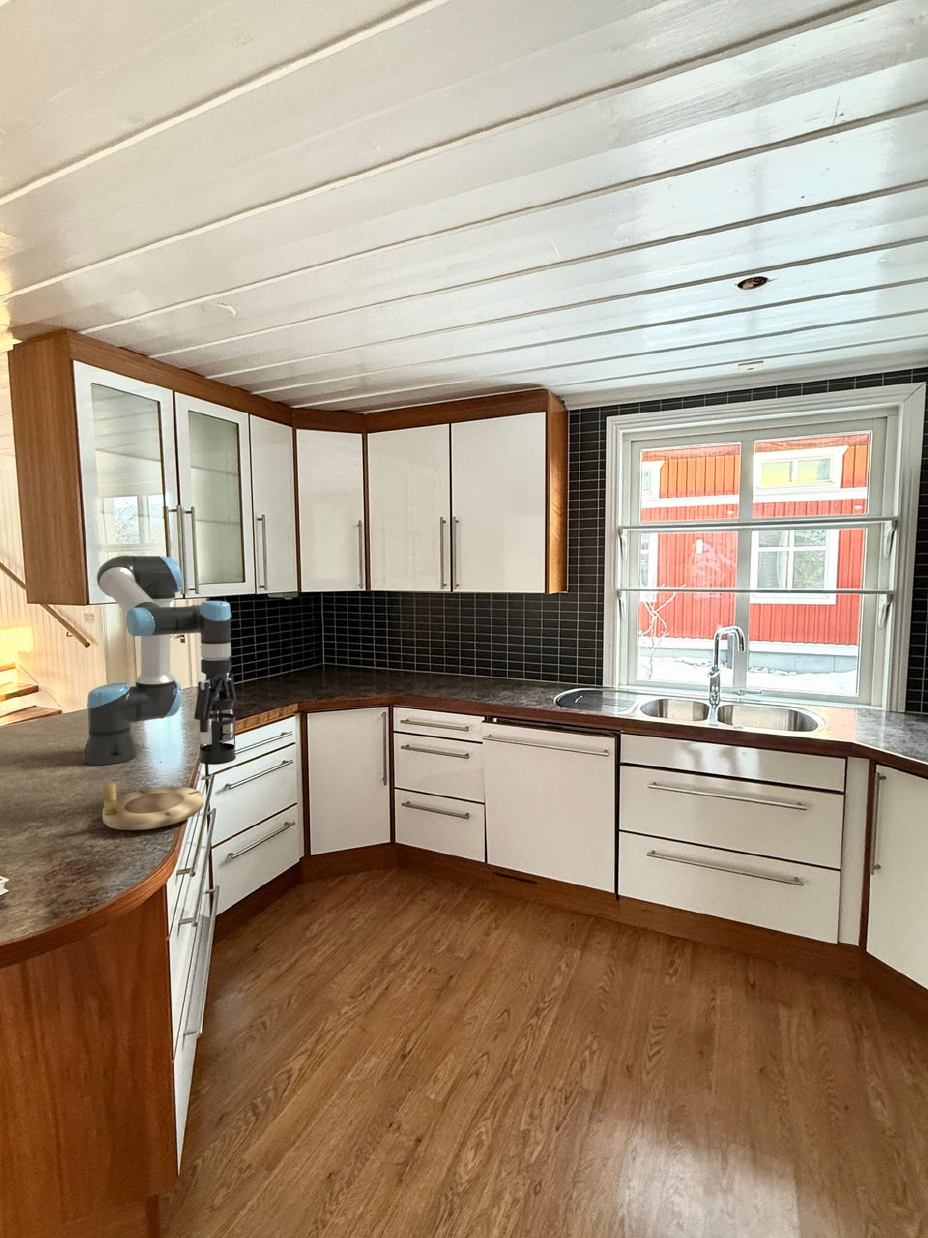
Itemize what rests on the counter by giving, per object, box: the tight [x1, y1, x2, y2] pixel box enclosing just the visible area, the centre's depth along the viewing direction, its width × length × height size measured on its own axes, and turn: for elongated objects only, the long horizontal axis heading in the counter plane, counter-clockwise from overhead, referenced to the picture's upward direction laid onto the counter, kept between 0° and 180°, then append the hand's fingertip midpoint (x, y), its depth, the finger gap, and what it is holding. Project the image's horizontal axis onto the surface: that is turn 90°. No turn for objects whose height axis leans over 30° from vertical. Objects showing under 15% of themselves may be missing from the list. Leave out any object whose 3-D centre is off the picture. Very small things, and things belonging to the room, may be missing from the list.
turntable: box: [102, 782, 204, 831], centre depth 147 cm, size 22×22×9 cm
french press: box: [198, 678, 237, 766], centre depth 165 cm, size 12×9×23 cm
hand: (216, 737), depth 165 cm, fingers closed on french press, 10 cm apart
